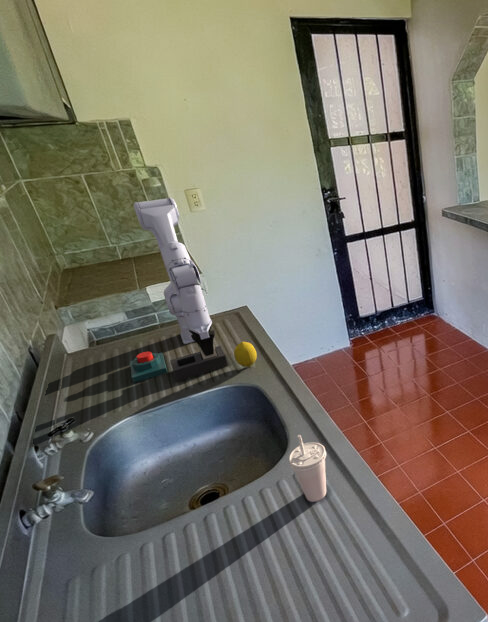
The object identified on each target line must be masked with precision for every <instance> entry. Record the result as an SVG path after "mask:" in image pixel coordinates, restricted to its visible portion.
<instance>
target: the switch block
mask: <svg viewBox="0 0 488 622" xmlns="http://www.w3.org/2000/svg"><path fill="white" fill-rule="evenodd" d="M151 353H152V356H153V359H152V360H150V361H148V362H144V363H139V362H138V360H137V357H135V358H134V359H133V360H130V361H129V365H130V373H131V380H132V383H133V384H134V383H138V382H142V381H145V380H148V379H152V378H155V377H158V376H161V375H164V374H168V369H167V365H166V361H165V357H164V354H163V352H159V353H156V352H151Z"/></svg>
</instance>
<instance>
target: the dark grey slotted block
mask: <svg viewBox="0 0 488 622" xmlns="http://www.w3.org/2000/svg"><path fill="white" fill-rule="evenodd" d="M214 347H215V351H216V354H217V356H213V357H210V358H207V359H203V357H202V354H201V351H197V352H194V353H190V354H186V355H183V356H179V357H177V358H173V359H170V366H171V368H172V371H173V375H174V378H175V381H176V382H181V381H184V380H188V379H190V378H194V377H197V376H200V375H203V374H206V373H210V372H213V371H217V370H219V369H222V368H225V367H228V366H229V363H228V360H227V357H226V354H225V353H224V350H223V348H222V346H221V345H218V346H214Z"/></svg>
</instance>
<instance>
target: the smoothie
mask: <svg viewBox="0 0 488 622" xmlns="http://www.w3.org/2000/svg"><path fill="white" fill-rule="evenodd" d="M297 440H298V444H299V445H298V446H297V447H295V448H294V449H293V450H292V451H291V452H290V453H289V456H288V463H289V466H290V468H291V469H292V470H293V471H294V474H295V476H296V478H297V481H298V483H299V484H300V487H301V490H302V492H303V494H304V496H305V499H306V500H307V501H308V502H312V503H315V502H320V501H321V500H322V499H324V498H325V496H326V495H327V478H326V476H327V475H326V457H327V451H326V448H325V446H324V445H323V444H321V443H319V442H312V441H311V442H306V443H304V442H303V438H302V435H301V434H298V435H297Z"/></svg>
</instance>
